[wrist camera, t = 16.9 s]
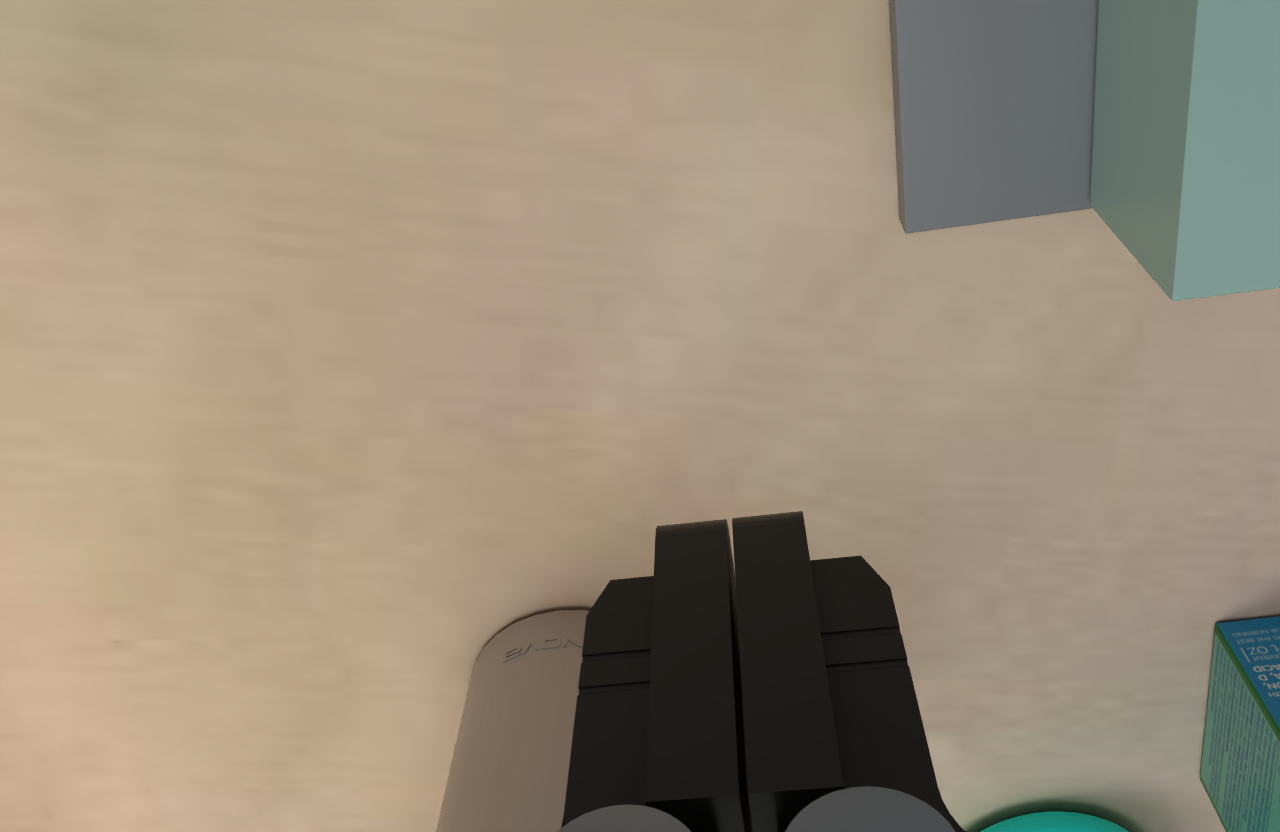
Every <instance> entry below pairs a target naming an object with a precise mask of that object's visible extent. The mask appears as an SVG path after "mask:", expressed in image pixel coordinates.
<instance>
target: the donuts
mask: <svg viewBox="0 0 1280 832" xmlns="http://www.w3.org/2000/svg"><path fill="white" fill-rule="evenodd" d="M980 832H1129V831H1127V830H1126V829H1124V828H1122V827H1121V826H1119V825H1117V824H1115V823H1113V822H1110V821H1108V820H1105V819H1102V818H1099V817H1095V816H1091V815H1087V814H1081V813H1075V812H1064V811H1050V812H1038V813H1031V814H1025V815H1021V816H1016V817H1013V818H1010V819H1006V820H1004V821H1001V822H998V823H996V824H994V825H992V826H990V827H988V828H986V829H984V830H982V831H980Z"/></svg>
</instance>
